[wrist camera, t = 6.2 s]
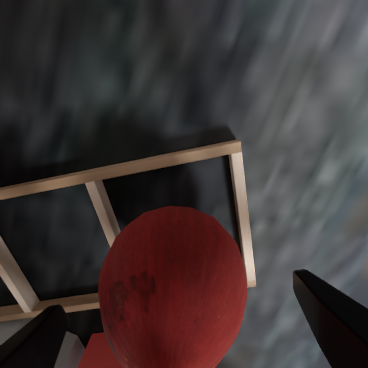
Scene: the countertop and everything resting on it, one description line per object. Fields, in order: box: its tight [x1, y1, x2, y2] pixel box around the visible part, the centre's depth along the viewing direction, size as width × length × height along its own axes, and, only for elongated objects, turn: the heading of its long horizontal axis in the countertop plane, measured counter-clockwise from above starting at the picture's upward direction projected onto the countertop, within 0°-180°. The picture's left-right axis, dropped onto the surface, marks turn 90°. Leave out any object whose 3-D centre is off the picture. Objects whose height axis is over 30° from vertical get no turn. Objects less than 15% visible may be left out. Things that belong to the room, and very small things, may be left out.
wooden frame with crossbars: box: [0, 140, 256, 322], centre depth 12 cm, size 9×23×1 cm, turn 102°
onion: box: [98, 206, 247, 368], centre depth 8 cm, size 6×6×8 cm
